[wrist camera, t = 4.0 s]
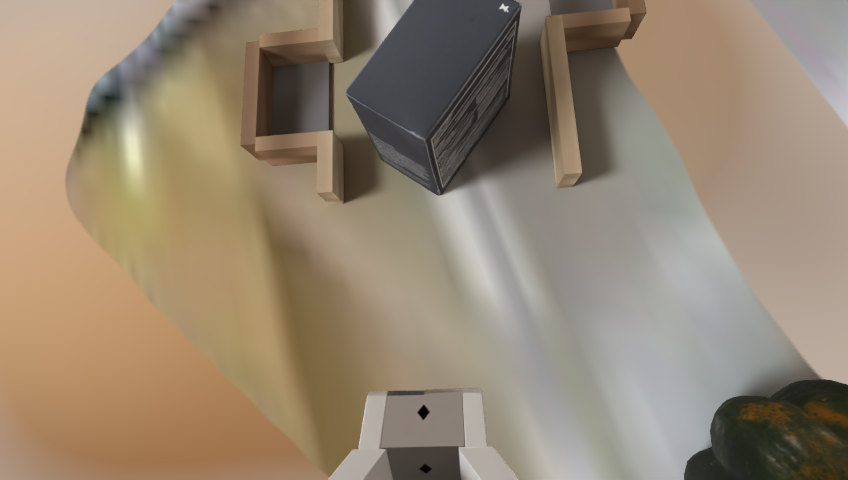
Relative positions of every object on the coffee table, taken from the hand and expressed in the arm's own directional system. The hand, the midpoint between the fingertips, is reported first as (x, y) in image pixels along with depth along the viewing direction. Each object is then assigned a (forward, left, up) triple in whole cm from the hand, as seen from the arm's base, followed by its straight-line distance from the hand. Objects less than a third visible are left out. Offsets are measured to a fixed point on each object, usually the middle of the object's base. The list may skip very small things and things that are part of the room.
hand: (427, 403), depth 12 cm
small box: (0, -18, -21) cm, 28 cm away
